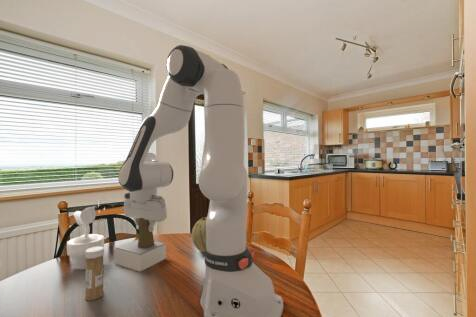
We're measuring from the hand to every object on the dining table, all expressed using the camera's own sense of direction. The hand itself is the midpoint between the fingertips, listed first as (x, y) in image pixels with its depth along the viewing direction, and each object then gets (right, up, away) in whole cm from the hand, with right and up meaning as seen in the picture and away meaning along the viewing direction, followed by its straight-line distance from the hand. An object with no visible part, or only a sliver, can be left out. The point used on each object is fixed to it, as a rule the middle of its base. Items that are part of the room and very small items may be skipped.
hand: (144, 230), depth 87 cm
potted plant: (-20, -12, -4) cm, 24 cm away
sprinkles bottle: (-5, -12, -23) cm, 26 cm away
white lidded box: (-1, -12, -1) cm, 12 cm away
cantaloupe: (+24, -12, +9) cm, 28 cm away
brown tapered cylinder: (+1, -6, -1) cm, 6 cm away
